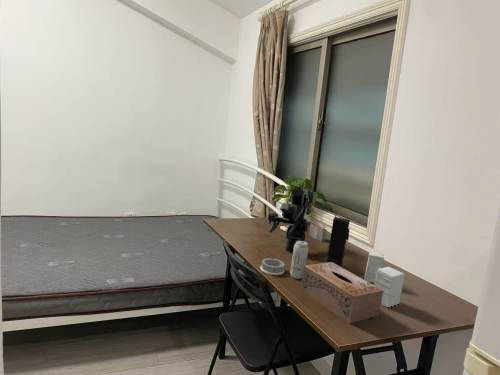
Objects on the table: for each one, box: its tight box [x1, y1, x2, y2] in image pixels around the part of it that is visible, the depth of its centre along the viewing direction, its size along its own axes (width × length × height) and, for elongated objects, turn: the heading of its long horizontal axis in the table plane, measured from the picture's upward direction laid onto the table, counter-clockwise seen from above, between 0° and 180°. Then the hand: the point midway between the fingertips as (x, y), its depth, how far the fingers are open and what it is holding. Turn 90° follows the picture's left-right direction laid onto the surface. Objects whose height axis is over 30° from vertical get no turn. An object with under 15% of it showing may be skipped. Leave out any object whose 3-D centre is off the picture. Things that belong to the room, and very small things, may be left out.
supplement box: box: [373, 266, 406, 308], centre depth 137 cm, size 7×7×13 cm
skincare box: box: [363, 251, 385, 284], centre depth 156 cm, size 6×4×12 cm
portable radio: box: [326, 214, 351, 268], centre depth 168 cm, size 8×6×25 cm
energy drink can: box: [289, 241, 310, 280], centre depth 151 cm, size 6×6×15 cm
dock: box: [259, 258, 285, 276], centre depth 156 cm, size 10×10×3 cm
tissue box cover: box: [300, 262, 384, 324], centre depth 133 cm, size 26×14×10 cm, turn 31°
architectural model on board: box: [308, 222, 328, 242], centre depth 210 cm, size 11×3×10 cm, turn 31°
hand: (278, 233), depth 159 cm, fingers open, 9 cm apart
